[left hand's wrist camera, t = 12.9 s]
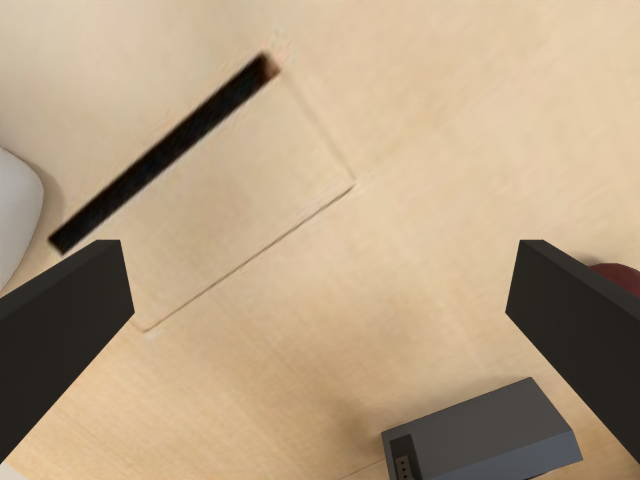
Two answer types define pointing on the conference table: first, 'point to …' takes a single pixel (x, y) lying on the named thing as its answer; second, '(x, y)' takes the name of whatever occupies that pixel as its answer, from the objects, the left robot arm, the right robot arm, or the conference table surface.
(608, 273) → the dark red ball
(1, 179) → the projector
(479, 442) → the bar
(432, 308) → the conference table surface
